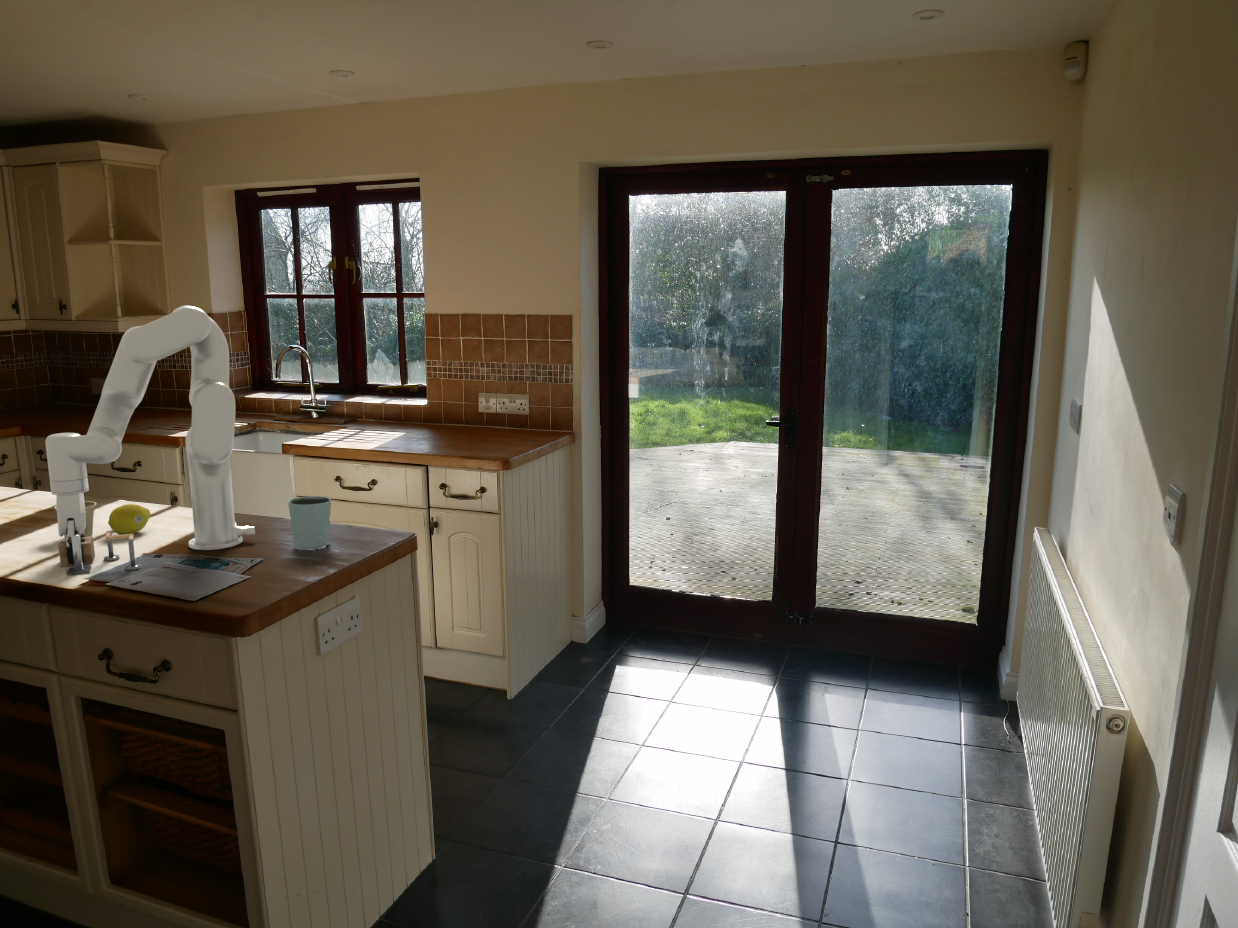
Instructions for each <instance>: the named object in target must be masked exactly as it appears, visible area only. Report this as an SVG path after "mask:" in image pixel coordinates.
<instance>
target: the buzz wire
mask: <svg viewBox="0 0 1238 928" xmlns="http://www.w3.org/2000/svg"><path fill="white" fill-rule="evenodd" d="M104 539H105V541H106V542H107V549H108V550H107V551H108V555H106V556H104V557H103V561H104V562H114V561H118V560H120V555H118V554H115V553H114V546H113V545H114V544H113V540H118V539H119V540H120V539H127V541H128V552H129V562H130V564H128V565H125V570H126V571H136V569H137V570H140V569H141V568H142V564H141V563H136V556H135V555H136V554H135V546H134V534H125V535H120V534H116V535H112V530H106V533H105V538H104ZM139 568H140V569H139Z"/></svg>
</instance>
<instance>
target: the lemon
mask: <svg viewBox="0 0 1238 928" xmlns="http://www.w3.org/2000/svg"><path fill="white" fill-rule="evenodd" d="M150 517H151V511H150V509H149V508H146V507H144V506H141V505H139V504H136V503H135V504H133V503H131V504H130V503H128V504H123V505H119V506H118V507H116V508H114V509H113V510H112V511H111V513H110V515H109V518H108V521H107V523H108V526H109V527H110V529H111V531H113V532H114V533H115V534H116V535H125V534H133V535H134V534H137V533H138V532H140V531H141V530H142V529H144V528H145V527H146V526H147V523H148V521H149V519H150Z"/></svg>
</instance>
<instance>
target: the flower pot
mask: <svg viewBox="0 0 1238 928" xmlns="http://www.w3.org/2000/svg"><path fill="white" fill-rule="evenodd" d="M84 501H85V500H84ZM97 504H98V503H97V502H96V501H88V500H86V501H85V511H86V527H85V530H84V535H85V537H91V536H93V529H94V516H95V511H96V506H97ZM53 507H54V508H53V509H55V511H56V512H57V504H56V505H55V506H53ZM63 536H64V539H66V533H65V535H63Z"/></svg>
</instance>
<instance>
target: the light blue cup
mask: <svg viewBox="0 0 1238 928" xmlns="http://www.w3.org/2000/svg"><path fill="white" fill-rule="evenodd" d="M287 502H288V510H289V517H290V520H291V522H290V525H291V532H292V542H293V543H292V544H293V549H295V550H296V549H297V550H296V551H301V550H308V549H317V548H321V547H323V546H326V545H328V544H329V545H330V530H331V529H330V527H331V520H330V518H331V507H332V499H331V498H330V497H327V496H318V495H316V496H315V495H314V496H313V495H309V496H300V497H294V498H292V499H289V500H288V501H287Z"/></svg>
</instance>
